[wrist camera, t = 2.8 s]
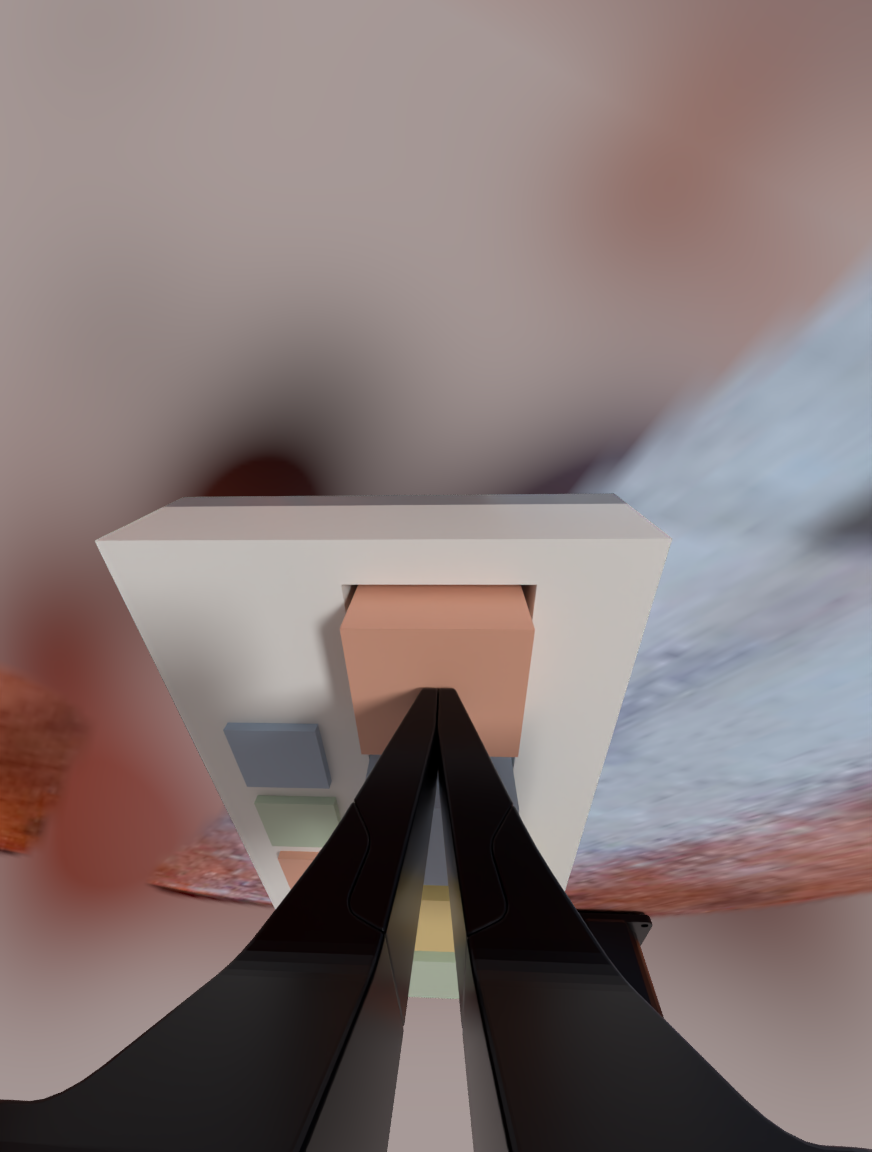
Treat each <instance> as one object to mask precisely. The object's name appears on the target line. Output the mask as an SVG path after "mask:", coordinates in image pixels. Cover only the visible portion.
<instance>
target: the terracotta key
mask: <svg viewBox="0 0 872 1152" xmlns="http://www.w3.org/2000/svg"><path fill="white" fill-rule="evenodd" d="M340 634H341V639H342V645H343V651H344V657H345V662H346V668H347V674H348V680H349V685H350V691H351V697H352V703H353V708H354V714H355V720H356V726H357V732H358V737H359V743H360V749H361V754H368V755H381V754H382V753H383V751H384V749H385V748H386V746H387V744H388V743H389V741H390V740H391V738H392V736H393V735H394V733H395V731H396V730H397V728H398V727H399V725H400V723H401V722H402V720H403V718H404V717H405V715H406V714H407V712H408V710H409V709H410V707H411V705H412V704H413V702H414V701H415V699H416V697H417V696H418V694H419V692H420V691H421V689H423V688H437V689H438V691H439V689H440V688H454V689H455V690H456V691H457V693H458V695H459V697H460V699H461V701H462V703H463V705H464V707H465V709H466V711H467V713H468V715H469V717H470V719H471V721H472V723H473V725H474V727H475V729H476V731H477V733H478V735H479V737H480V739H481V740H482V742H483V744H484V746H485V748H486V750H487V752H488V754H489V756H490V757H518V754H519V747H520V739H521V732H522V724H523V716H524V709H525V701H526V694H527V686H528V679H529V671H530V664H531V656H532V649H533V641H534V634H535V628H534V625H533V622H532V619H531V616H530V612H529V609H528V606H527V603H526V600H525V597H524V594H523V591H522V588H521V585H358V586H357V589H356V591H355V593H354V596H353V598H352V601H351V603H350V605H349V608H348V610H347V612H346V615H345V617H344V619H343V622H342V624H341V626H340Z"/></svg>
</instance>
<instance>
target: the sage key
mask: <svg viewBox="0 0 872 1152" xmlns="http://www.w3.org/2000/svg"><path fill="white" fill-rule="evenodd" d="M408 997H424V998H425V997H426V998H447V999H459V992H458V981H457V971H456V960H455V952H436V951H414V957H413V964H412V972H411V979H410V986H409V993H408Z"/></svg>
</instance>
